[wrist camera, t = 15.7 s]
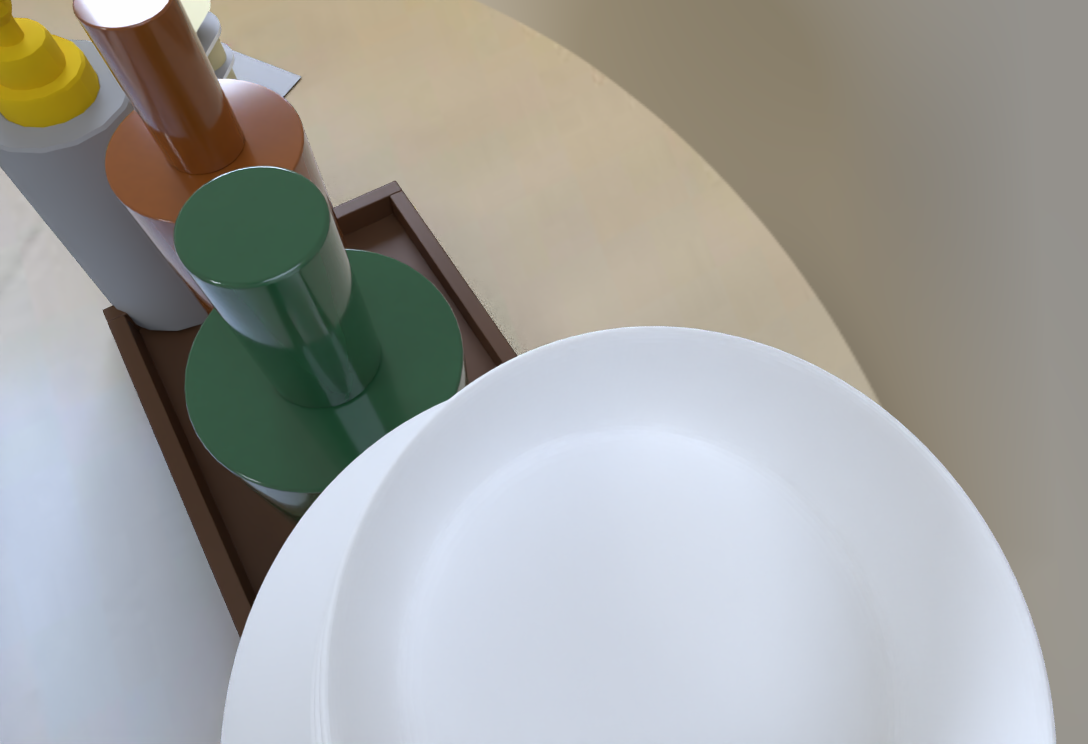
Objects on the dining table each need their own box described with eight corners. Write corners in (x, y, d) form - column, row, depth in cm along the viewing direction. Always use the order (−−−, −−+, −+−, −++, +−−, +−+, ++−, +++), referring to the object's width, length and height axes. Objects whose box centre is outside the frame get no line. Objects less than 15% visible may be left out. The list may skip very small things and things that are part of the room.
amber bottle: (401, 321, 35) (289, -51, 18) (353, 426, 33) (170, 107, 16) (291, 291, 36) (84, -97, 19) (236, 392, 33) (-64, 48, 16)
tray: (800, 789, 27) (823, 795, 25) (449, 1084, 23) (442, 1119, 21) (402, 207, 39) (395, 179, 37) (126, 333, 35) (101, 309, 33)
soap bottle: (121, 243, 38) (-158, -106, 22) (254, 226, 39) (84, -118, 23) (114, 354, 35) (-212, 49, 19) (259, 333, 36) (67, 26, 20)
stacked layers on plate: (75, 117, 42) (15, 36, 37) (171, 27, 45) (129, -57, 40) (212, 175, 40) (169, 98, 35) (301, 77, 44) (273, -5, 39)
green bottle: (509, 481, 32) (491, 132, 13) (461, 623, 29) (350, 444, 10) (377, 441, 32) (177, 55, 13) (318, 577, 29) (-38, 328, 11)
